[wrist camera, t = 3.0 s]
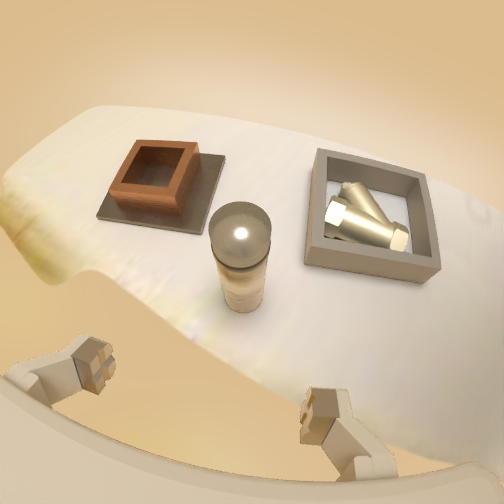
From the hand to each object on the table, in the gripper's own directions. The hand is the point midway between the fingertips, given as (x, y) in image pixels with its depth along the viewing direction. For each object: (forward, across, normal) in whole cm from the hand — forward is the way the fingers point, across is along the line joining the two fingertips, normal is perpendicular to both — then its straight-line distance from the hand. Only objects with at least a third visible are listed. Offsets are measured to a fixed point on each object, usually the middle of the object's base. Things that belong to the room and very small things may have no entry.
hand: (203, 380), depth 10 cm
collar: (+21, +11, -4) cm, 24 cm away
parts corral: (+21, -11, -4) cm, 24 cm away
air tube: (+14, 0, +3) cm, 14 cm away
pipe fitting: (+21, -10, -3) cm, 23 cm away
